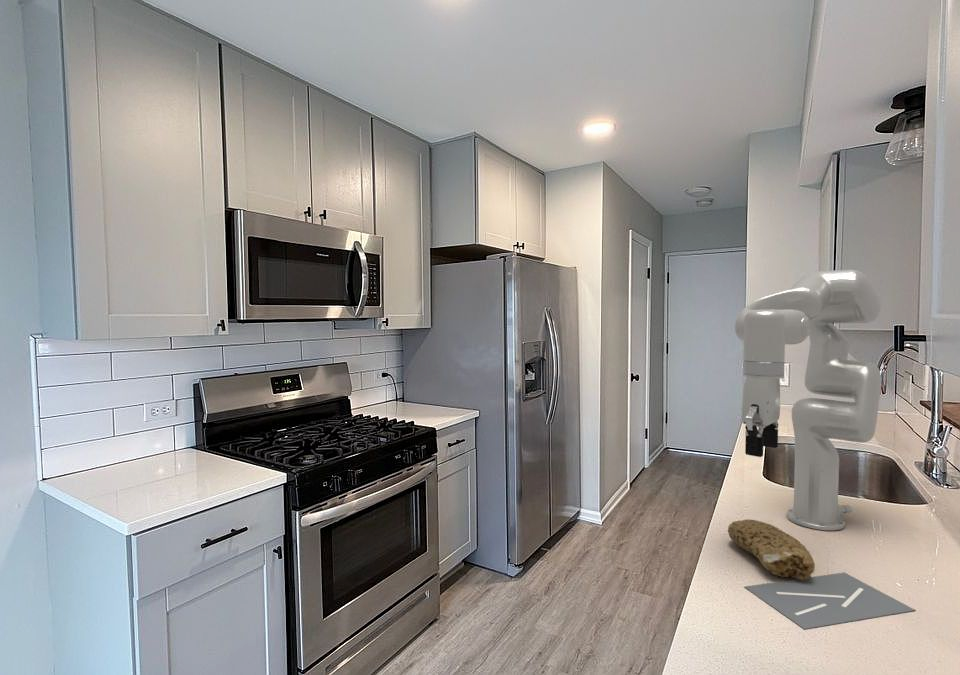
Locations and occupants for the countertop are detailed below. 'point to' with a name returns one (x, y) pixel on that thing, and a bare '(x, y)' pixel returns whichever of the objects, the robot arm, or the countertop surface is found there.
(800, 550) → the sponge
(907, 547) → the countertop surface
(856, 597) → the mat
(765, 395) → the robot arm
